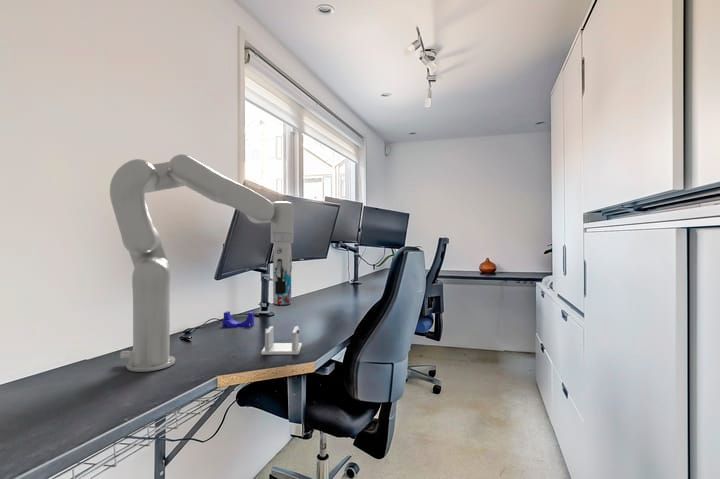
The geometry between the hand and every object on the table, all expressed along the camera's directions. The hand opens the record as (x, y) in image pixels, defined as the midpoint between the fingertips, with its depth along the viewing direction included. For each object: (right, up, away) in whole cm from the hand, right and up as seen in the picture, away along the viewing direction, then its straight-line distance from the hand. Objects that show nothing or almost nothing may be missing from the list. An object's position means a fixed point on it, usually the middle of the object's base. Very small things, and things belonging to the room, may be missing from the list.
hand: (282, 291), depth 132 cm
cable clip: (-26, -20, +35) cm, 48 cm away
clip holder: (0, -20, 0) cm, 20 cm away
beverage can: (0, -5, 0) cm, 5 cm away
